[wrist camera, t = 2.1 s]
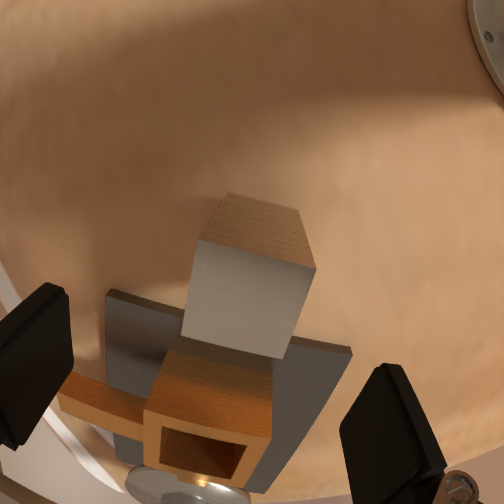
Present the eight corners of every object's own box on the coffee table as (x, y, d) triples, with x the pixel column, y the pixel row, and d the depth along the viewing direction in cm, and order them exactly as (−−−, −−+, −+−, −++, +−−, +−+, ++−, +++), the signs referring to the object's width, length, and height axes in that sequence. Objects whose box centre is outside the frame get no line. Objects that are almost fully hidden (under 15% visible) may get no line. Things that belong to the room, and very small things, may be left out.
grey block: (230, 188, 19) (197, 239, 10) (296, 205, 19) (316, 269, 11) (216, 249, 20) (180, 335, 12) (278, 265, 20) (282, 359, 12)
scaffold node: (89, 281, 22) (-39, 426, 8) (350, 347, 23) (397, 537, 9) (105, 447, 31) (65, 544, 17) (264, 487, 31) (258, 592, 18)
